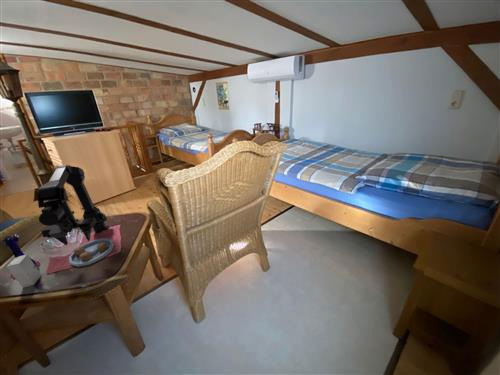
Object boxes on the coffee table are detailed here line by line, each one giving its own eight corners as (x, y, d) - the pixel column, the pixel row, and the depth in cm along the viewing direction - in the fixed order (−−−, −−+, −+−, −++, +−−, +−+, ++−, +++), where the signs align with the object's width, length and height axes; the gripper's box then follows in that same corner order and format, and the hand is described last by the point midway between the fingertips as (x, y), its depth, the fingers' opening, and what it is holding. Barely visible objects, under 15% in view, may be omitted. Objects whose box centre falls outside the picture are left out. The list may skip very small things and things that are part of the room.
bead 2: (80, 264, 97) (77, 258, 95) (85, 257, 100) (82, 252, 99) (90, 262, 97) (87, 256, 96) (94, 256, 101) (91, 250, 99)
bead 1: (87, 252, 104) (85, 247, 102) (79, 258, 100) (76, 252, 99) (83, 250, 105) (80, 245, 104) (74, 256, 102) (71, 250, 101)
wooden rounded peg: (101, 248, 106) (99, 243, 104) (110, 246, 107) (107, 241, 105) (98, 253, 102) (95, 248, 101) (106, 252, 103) (104, 246, 102)
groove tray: (83, 246, 111) (80, 242, 110) (119, 239, 114) (117, 235, 112) (63, 271, 95) (60, 267, 93) (105, 263, 98) (103, 259, 96)
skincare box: (34, 284, 89) (19, 263, 84) (21, 288, 88) (5, 267, 83) (42, 274, 94) (28, 253, 89) (30, 277, 93) (15, 256, 88)
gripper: (22, 228, 79) (42, 259, 86) (76, 219, 82) (92, 250, 89) (42, 213, 89) (59, 242, 95) (90, 205, 92) (103, 234, 99)
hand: (78, 242), depth 94 cm, fingers open, 9 cm apart
